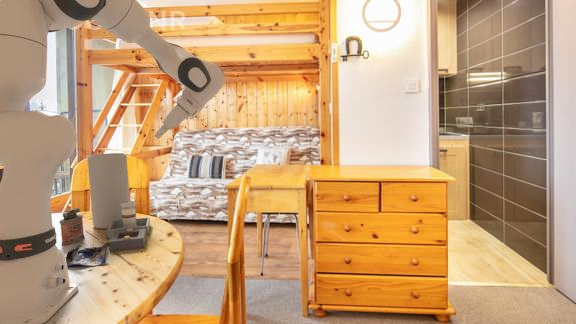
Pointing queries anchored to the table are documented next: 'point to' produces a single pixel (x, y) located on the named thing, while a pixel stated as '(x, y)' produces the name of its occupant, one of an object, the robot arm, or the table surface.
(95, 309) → the table surface
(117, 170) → the cylinder vase
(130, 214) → the ball
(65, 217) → the lighter
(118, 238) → the block
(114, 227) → the tray
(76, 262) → the snack package
